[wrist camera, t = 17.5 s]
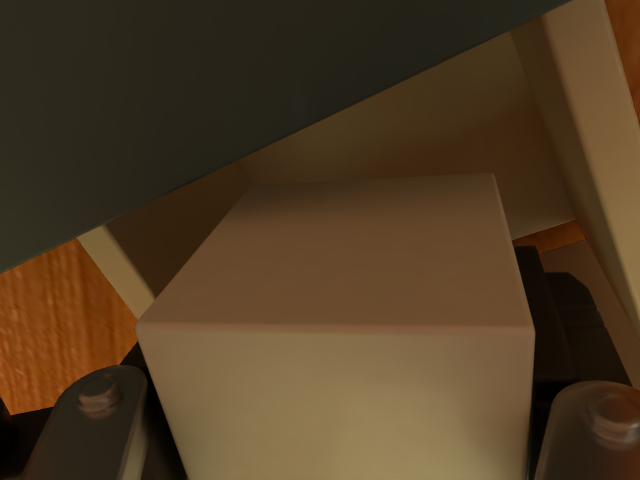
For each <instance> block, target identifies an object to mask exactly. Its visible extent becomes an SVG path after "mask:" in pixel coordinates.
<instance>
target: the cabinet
mask: <svg viewBox="0 0 640 480" xmlns="http://www.w3.org/2000/svg"><path fill="white" fill-rule="evenodd" d="M570 1H573V0H0V274H1V273H3V272H5V271H7V270H10V269H12V268H14V267H16V266H18V265H20V264H22V263H24V262H26V261H28V260H31V259H33V258H35V257H37V256H39V255H41V254H43V253H45V252H47V251H49V250H51V249H54V248H56V247H58V246H60V245H62V244H64V243H66V242H68V241H70V240H72V239H74V238H77V237H79V236H81V235H83V234H85V233H87V232H89V231H91V230H93V229H95V228H97V227H100V226H102V225H104V224H106V223H108V222H110V221H112V220H114V219H116V218H118V217H121V216H123V215H125V214H127V213H129V212H131V211H133V210H135V209H137V208H139V207H141V206H144V205H146V204H148V203H150V202H152V201H154V200H156V199H158V198H160V197H162V196H164V195H167V194H169V193H171V192H173V191H175V190H177V189H179V188H181V187H183V186H185V185H187V184H190V183H192V182H194V181H196V180H198V179H200V178H202V177H204V176H206V175H208V174H210V173H213V172H215V171H217V170H219V169H221V168H223V167H225V166H227V165H229V164H231V163H234V162H236V161H238V160H240V159H242V158H244V157H246V156H248V155H250V154H252V153H254V152H257V151H259V150H261V149H263V148H265V147H267V146H269V145H271V144H273V143H275V142H277V141H280V140H282V139H284V138H286V137H288V136H290V135H292V134H294V133H296V132H298V131H300V130H303V129H305V128H307V127H309V126H311V125H313V124H315V123H317V122H319V121H321V120H324V119H326V118H328V117H330V116H332V115H334V114H336V113H338V112H340V111H342V110H344V109H347V108H349V107H351V106H353V105H355V104H357V103H359V102H361V101H363V100H365V99H367V98H370V97H372V96H374V95H376V94H378V93H380V92H382V91H384V90H386V89H388V88H390V87H393V86H395V85H397V84H399V83H401V82H403V81H405V80H407V79H409V78H411V77H414V76H416V75H418V74H420V73H422V72H424V71H426V70H428V69H430V68H432V67H434V66H437V65H439V64H441V63H443V62H445V61H447V60H449V59H451V58H453V57H455V56H457V55H460V54H462V53H464V52H466V51H468V50H470V49H472V48H474V47H476V46H478V45H480V44H483V43H485V42H487V41H489V40H491V39H493V38H495V37H497V36H499V35H501V34H504V33H506V32H508V31H510V30H512V29H514V28H516V27H518V26H520V25H522V24H524V23H527V22H529V21H531V20H533V19H535V18H537V17H539V16H541V15H543V14H545V13H547V12H550V11H552V10H554V9H556V8H558V7H560V6H562V5H564V4H566V3H568V2H570Z"/></svg>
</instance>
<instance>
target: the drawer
mask: <svg viewBox="0 0 640 480" xmlns="http://www.w3.org/2000/svg"><path fill="white" fill-rule="evenodd" d="M487 172H490V173H493V174H494V176H495V179H496V183H497V187H498V191H499V194H500V198H501V202H502V206H503V210H504V214H505V217H506V221H507V225H508V229H509V233H510V237H511V240H515V239H518V238H521V237H524V236H527V235H530V234H533V233H536V232H539V231H542V230H545V229H549V228H552V227H555V226H558V225H561V224H564V223H567V222H570V221H573V220H576V221H577V223H578V225H579V227H580V229H581V231H582V232H583V234H584V236H585V238H586V239H585V240H582V241H579V242H576V243H573V244H569V245H566V246H563V247H560V248H556V249H553V250H550V251H547V252H544V253H540V254H539V257H540V260H541V263H542V266H543V269H544V272H569V273H570V274H571V275H572V276H574V277H575V278H576V279H578V280H579V281H580V282H581V283H583V284H584V285H585V286H586V287H588V289H589V291H590V293H591V295H592V297H593V300H594V302H595V304H596V306H597V311H599V313H600V315H601V317H602V320H603V322H604V327H606V328H607V331H608V333H609V335H610V337H611V339H612V342H613V344H614V346H615V348H616V350H617V353H618V355H619V357H620V359H621V361H622V364H623V366H624V368H625V370H626V372H627V375H628V377H629V379H630V381H631V383H632V386H633V388H636V389H638V390H640V125H639V122H638V118H637V115H636V111H635V108H634V104H633V100H632V97H631V93H630V90H629V86H628V83H627V79H626V75H625V72H624V68H623V65H622V61H621V58H620V54H619V50H618V47H617V43H616V40H615V36H614V33H613V29H612V26H611V22H610V18H609V15H608V11H607V8H606V4H605V1H604V0H573V1H570V2H568V3H566V4H564V5H562V6H560V7H558V8H556V9H554V10H552V11H550V12H547V13H545V14H543V15H541V16H539V17H537V18H535V19H533V20H531V21H529V22H527V23H524V24H522V25H520V26H518V27H516V28H514V29H512V30H510V31H508V32H506V33H504V34H501V35H499V36H497V37H495V38H493V39H491V40H489V41H487V42H485V43H483V44H480V45H478V46H476V47H474V48H472V49H470V50H468V51H466V52H464V53H462V54H460V55H457V56H455V57H453V58H451V59H449V60H447V61H445V62H443V63H441V64H439V65H437V66H434V67H432V68H430V69H428V70H426V71H424V72H422V73H420V74H418V75H416V76H414V77H411V78H409V79H407V80H405V81H403V82H401V83H399V84H397V85H395V86H393V87H390V88H388V89H386V90H384V91H382V92H380V93H378V94H376V95H374V96H372V97H370V98H367V99H365V100H363V101H361V102H359V103H357V104H355V105H353V106H351V107H349V108H347V109H344V110H342V111H340V112H338V113H336V114H334V115H332V116H330V117H328V118H326V119H324V120H321V121H319V122H317V123H315V124H313V125H311V126H309V127H307V128H305V129H303V130H300V131H298V132H296V133H294V134H292V135H290V136H288V137H286V138H284V139H282V140H280V141H277V142H275V143H273V144H271V145H269V146H267V147H265V148H263V149H261V150H259V151H257V152H254V153H252V154H250V155H248V156H246V157H244V158H242V159H240V160H238V161H236V162H234V163H231V164H229V165H227V166H225V167H223V168H221V169H219V170H217V171H215V172H213V173H210V174H208V175H206V176H204V177H202V178H200V179H198V180H196V181H194V182H192V183H190V184H187V185H185V186H183V187H181V188H179V189H177V190H175V191H173V192H171V193H169V194H167V195H164V196H162V197H160V198H158V199H156V200H154V201H152V202H150V203H148V204H146V205H144V206H141V207H139V208H137V209H135V210H133V211H131V212H129V213H127V214H125V215H123V216H121V217H118V218H116V219H114V220H112V221H110V222H108V223H106V224H104V225H102V226H100V227H97V228H95V229H93V230H91V231H89V232H87V233H85V234H83V235H81V236H79V237H77V239H78V240H79V242H80V243H81V245H82V246H83V247H84V249H85V250H86V251H87V253H88V254H89V255H90V257H91V258H92V259H93V261H94V262H95V263H96V265H97V266H98V267H99V269H100V270H101V271H102V273H103V274H104V275H105V277H106V278H107V279H108V281H109V282H110V283H111V285H112V286H113V287H114V289H115V290H116V291H117V293H118V294H119V295H120V297H121V298H122V299H123V301H124V302H125V303H126V305H127V306H128V308H129V309H130V310H131V312H132V313H133V314H134V316H135V317H136V318H137V320H139V318H140V317H141V316H142V315H143V314H144V312H145V311H146V310H147V309H148V308H149V306H150V305H151V304H152V303H153V302H154V301H155V299H156V298H157V297H158V296H159V295H160V293H161V292H162V291H163V290H164V289H165V287H166V286H167V285H168V284H169V283H170V281H171V280H172V279H173V278H174V277H175V275H176V274H177V273H178V272H179V271H180V270H181V268H182V267H183V266H184V265H185V264H186V262H187V261H188V260H189V259H190V258H191V256H192V255H193V254H194V253H195V252H196V250H197V249H198V248H199V247H200V246H201V244H202V243H203V242H204V241H205V240H206V238H207V237H208V236H209V235H210V234H211V233H212V231H213V230H214V229H215V228H216V227H217V225H218V224H219V223H220V222H221V221H222V219H223V218H224V217H225V216H226V215H227V213H228V212H229V211H230V210H231V209H232V207H233V206H234V205H235V204H236V203H237V202H238V200H239V199H240V198H241V197H242V196H243V194H244V193H245V192H246V191H247V190H248V188H249V187H251V186H260V185H278V184H295V183H313V182H330V181H348V180H365V179H382V178H400V177H417V176H435V175H452V174H470V173H487Z"/></svg>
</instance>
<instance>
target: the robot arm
mask: <svg viewBox="0 0 640 480" xmlns="http://www.w3.org/2000/svg"><path fill="white" fill-rule="evenodd" d="M513 248H514V252H515V256H516V260H517V263H518V267H519V271H520V275H521V279H522V283H523V287H524V290H525V294H526V298H527V302H528V306H529V310H530V313H531V317H532V321H533V325H534V329H535V348H534V364H533V381H532V397H531V414H530V431H529V447H528V464H527V480H640V390H638V389H636V388H633V386H632V383H631V381H630V379H629V377H628V375H627V372H626V370H625V368H624V366H623V364H622V361H621V359H620V357H619V355H618V353H617V350H616V348H615V346H614V344H613V342H612V339H611V337H610V335H609V333H608V331H607V328H606V327H604V322H603V320H602V317H601V315H600V313H599V311H597V306H596V304H595V302H594V300H593V297H592V295H591V293H590V291H589V289H588V287H586V286H585V285H584V284H583V283H581V282H580V281H579V280H578V279H576V278H575V277H574V276H572V275H571V274H570V273H569V272H544V269H543V266H542V263H541V260H540V257H539V254H538V251H537V248H536V247H535V246H513ZM187 478H188V477H187V474H186V471H185V469H184V466H183V463H182V460H181V458H180V455H179V452H178V449H177V447H176V444H175V441H174V438H173V435H172V433H171V430H170V427H169V424H168V422H167V419H166V416H165V413H164V411H163V408H162V405H161V402H160V400H159V397H158V394H157V391H156V389H155V386H154V383H153V380H152V378H151V375H150V372H149V369H148V367H147V364H146V361H145V358H144V355H143V353H142V350H141V347H140V344H139V342H137V343H136V344H135V346H134V347H133V348H132V349H131V351H130V352H129V353H128V354H127V356H126V357H125V358H124V359H123V361H122V362H121V363H120V364H119V365H116V366H110V367H106V368H102V369H99V370H96V371H94V372H92V373H89V374H88V375H86V376H84V377H82V378H80V379H79V380H77V381H76V382H74V383H73V384H72V385H71V386H69V387H68V388H67V389H66V390H65V391H64V392H63V393H62V395H61V396H60V397H59V398H58V400H57V402H56V403H55V405H54V407H50V408H45V409H40V410H35V411H30V412H25V413H20V414H16V415H10V413H9V411H8V409H7V408H6V406H5V404H4V402H3V400H2V399H1V398H0V480H187Z"/></svg>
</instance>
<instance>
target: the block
mask: <svg viewBox="0 0 640 480" xmlns="http://www.w3.org/2000/svg"><path fill="white" fill-rule="evenodd" d="M135 333H136V336H137V339H138V342H139V344H140V347H141V350H142V353H143V355H144V358H145V361H146V364H147V367H148V369H149V372H150V375H151V378H152V380H153V383H154V386H155V389H156V391H157V394H158V397H159V400H160V402H161V405H162V408H163V411H164V413H165V416H166V419H167V422H168V424H169V427H170V430H171V433H172V435H173V438H174V441H175V444H176V447H177V449H178V452H179V455H180V458H181V460H182V463H183V466H184V469H185V471H186V474H187V477H188V480H527V464H528V447H529V431H530V414H531V397H532V381H533V364H534V348H535V329H534V325H533V321H532V317H531V313H530V310H529V306H528V302H527V298H526V294H525V290H524V287H523V283H522V279H521V275H520V271H519V267H518V263H517V260H516V256H515V252H514V248H513V244H512V240H511V237H510V233H509V229H508V225H507V221H506V217H505V214H504V210H503V206H502V202H501V198H500V194H499V191H498V187H497V183H496V179H495V176H494V174H493V173H490V172H487V173H470V174H452V175H435V176H417V177H400V178H382V179H365V180H348V181H330V182H313V183H295V184H278V185H260V186H251V187H249V188H248V190H247V191H246V192H245V193H244V194H243V196H242V197H241V198H240V199H239V200H238V202H237V203H236V204H235V205H234V206H233V207H232V209H231V210H230V211H229V212H228V213H227V215H226V216H225V217H224V218H223V219H222V221H221V222H220V223H219V224H218V225H217V227H216V228H215V229H214V230H213V231H212V233H211V234H210V235H209V236H208V237H207V238H206V240H205V241H204V242H203V243H202V244H201V246H200V247H199V248H198V249H197V250H196V252H195V253H194V254H193V255H192V256H191V258H190V259H189V260H188V261H187V262H186V264H185V265H184V266H183V267H182V268H181V270H180V271H179V272H178V273H177V274H176V275H175V277H174V278H173V279H172V280H171V281H170V283H169V284H168V285H167V286H166V287H165V289H164V290H163V291H162V292H161V293H160V295H159V296H158V297H157V298H156V299H155V301H154V302H153V303H152V304H151V305H150V306H149V308H148V309H147V310H146V311H145V312H144V314H143V315H142V316H141V317H140V318H139V320H138V321H137V322H136V324H135Z"/></svg>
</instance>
